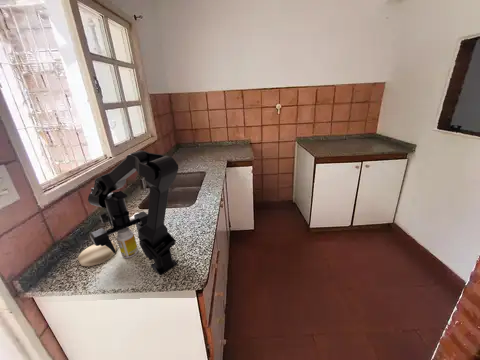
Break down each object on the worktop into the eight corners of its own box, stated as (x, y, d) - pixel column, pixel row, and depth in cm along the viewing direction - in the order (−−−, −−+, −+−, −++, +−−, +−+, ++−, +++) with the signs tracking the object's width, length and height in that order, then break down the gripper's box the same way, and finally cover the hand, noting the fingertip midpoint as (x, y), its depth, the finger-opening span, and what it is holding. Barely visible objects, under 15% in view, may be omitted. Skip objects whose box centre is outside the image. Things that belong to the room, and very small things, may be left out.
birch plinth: (121, 252, 81) (120, 249, 80) (84, 271, 73) (83, 268, 72) (110, 240, 88) (109, 237, 88) (75, 256, 80) (74, 253, 80)
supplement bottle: (140, 247, 83) (134, 225, 79) (135, 257, 78) (128, 233, 74) (125, 249, 82) (118, 226, 79) (119, 259, 77) (111, 235, 74)
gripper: (134, 194, 85) (143, 227, 91) (79, 213, 72) (93, 251, 78) (147, 201, 78) (156, 237, 83) (88, 224, 65) (103, 265, 71)
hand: (128, 246), depth 79 cm, fingers open, 9 cm apart
